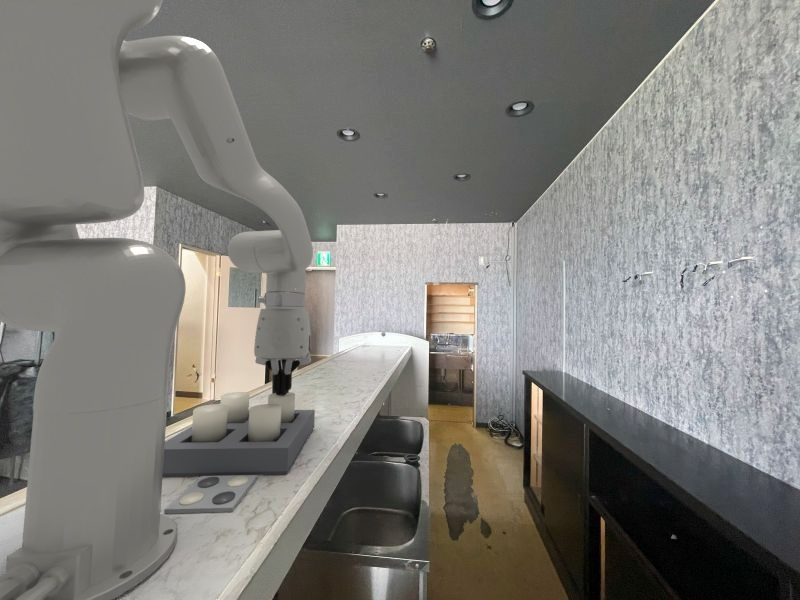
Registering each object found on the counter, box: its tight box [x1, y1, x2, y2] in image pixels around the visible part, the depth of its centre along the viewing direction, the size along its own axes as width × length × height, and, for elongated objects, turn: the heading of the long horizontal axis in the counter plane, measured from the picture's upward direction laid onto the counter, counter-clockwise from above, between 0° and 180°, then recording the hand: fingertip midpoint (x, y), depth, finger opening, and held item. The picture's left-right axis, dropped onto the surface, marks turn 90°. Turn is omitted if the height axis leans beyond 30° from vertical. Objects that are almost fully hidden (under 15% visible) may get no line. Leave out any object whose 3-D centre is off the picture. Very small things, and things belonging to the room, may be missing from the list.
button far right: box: [267, 392, 296, 423], centre depth 62 cm, size 5×5×5 cm
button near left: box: [191, 403, 228, 443], centre depth 52 cm, size 5×5×5 cm
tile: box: [163, 475, 259, 515], centre depth 42 cm, size 8×8×1 cm
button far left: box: [220, 391, 250, 423], centre depth 61 cm, size 5×5×5 cm
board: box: [163, 409, 315, 478], centre depth 57 cm, size 20×20×4 cm
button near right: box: [248, 403, 281, 442], centre depth 53 cm, size 5×5×5 cm
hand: (282, 393), depth 62 cm, fingers closed
